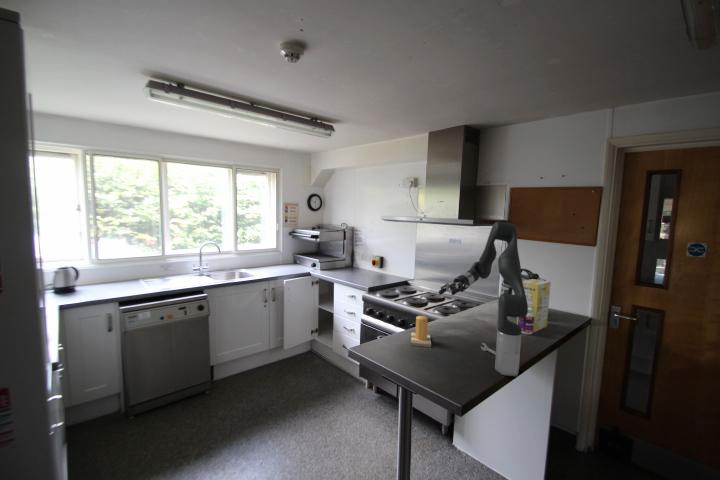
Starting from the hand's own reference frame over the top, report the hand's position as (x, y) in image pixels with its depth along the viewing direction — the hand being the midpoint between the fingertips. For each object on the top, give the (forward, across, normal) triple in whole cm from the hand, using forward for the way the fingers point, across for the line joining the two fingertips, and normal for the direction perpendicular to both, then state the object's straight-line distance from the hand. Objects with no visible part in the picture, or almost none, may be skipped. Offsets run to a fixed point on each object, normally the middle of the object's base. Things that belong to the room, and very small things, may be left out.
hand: (445, 293), depth 164 cm
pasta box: (-56, +4, +47) cm, 73 cm away
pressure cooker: (-76, -14, +50) cm, 92 cm away
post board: (+17, -11, +19) cm, 28 cm away
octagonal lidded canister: (+17, -11, +18) cm, 27 cm away
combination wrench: (+2, +20, +32) cm, 38 cm away
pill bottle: (-42, +8, +43) cm, 61 cm away
